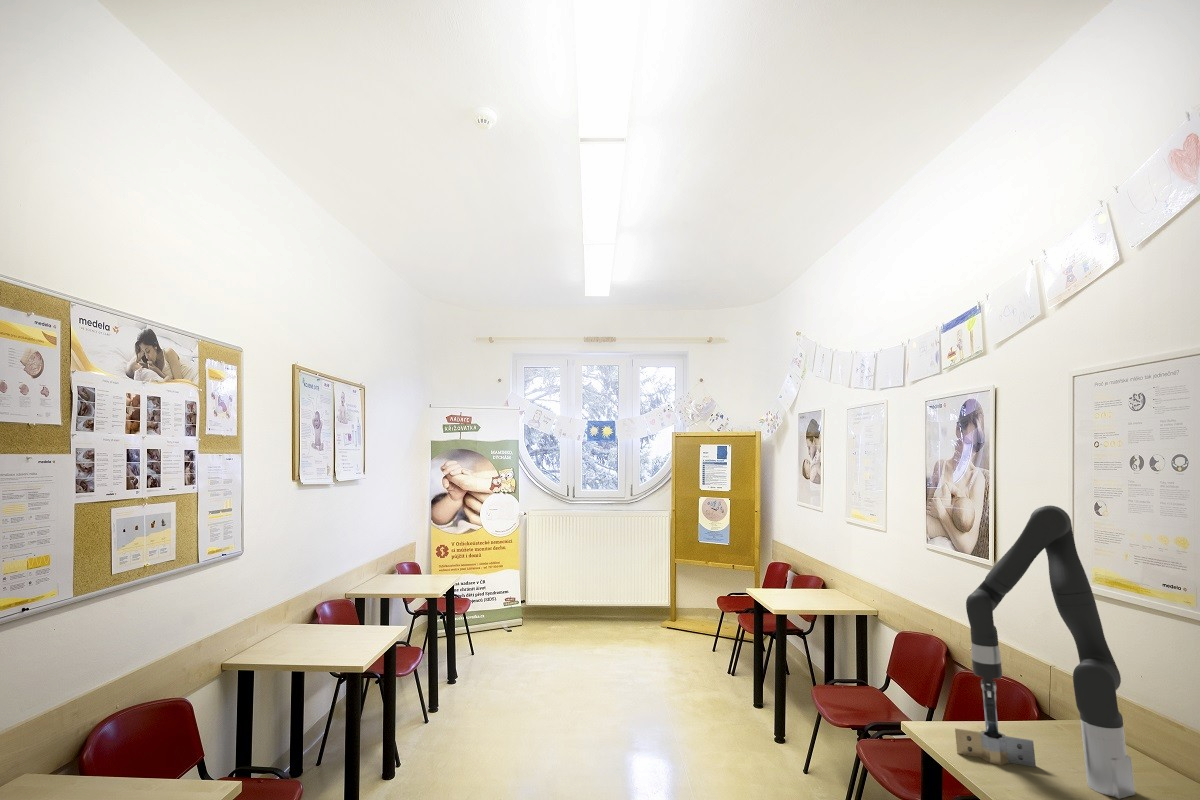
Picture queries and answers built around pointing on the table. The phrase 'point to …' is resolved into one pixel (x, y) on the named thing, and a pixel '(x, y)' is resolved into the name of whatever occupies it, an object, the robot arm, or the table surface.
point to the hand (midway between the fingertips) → (991, 718)
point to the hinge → (995, 747)
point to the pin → (990, 726)
